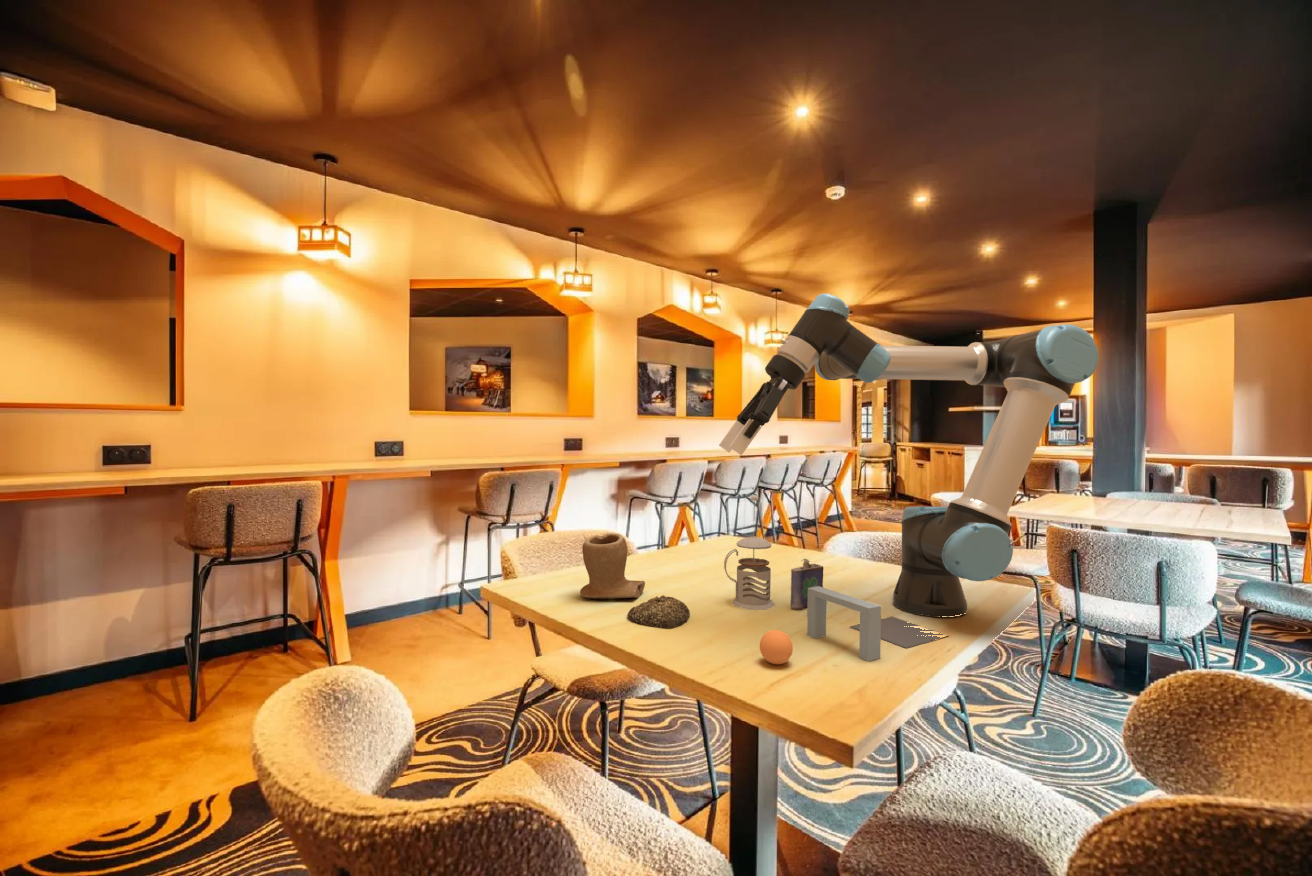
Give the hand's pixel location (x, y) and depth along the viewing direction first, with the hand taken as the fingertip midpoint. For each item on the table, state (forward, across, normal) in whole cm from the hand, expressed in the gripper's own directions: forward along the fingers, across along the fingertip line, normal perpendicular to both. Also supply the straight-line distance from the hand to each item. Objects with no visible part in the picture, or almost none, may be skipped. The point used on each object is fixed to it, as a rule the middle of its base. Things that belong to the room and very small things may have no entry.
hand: (729, 450), depth 113 cm
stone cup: (+43, -21, +1) cm, 48 cm away
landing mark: (+10, +2, +48) cm, 49 cm away
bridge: (+18, +10, +37) cm, 42 cm away
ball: (+24, +17, +23) cm, 38 cm away
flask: (+18, -14, +37) cm, 44 cm away
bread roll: (+37, -7, +10) cm, 39 cm away
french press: (+25, -17, +27) cm, 40 cm away
